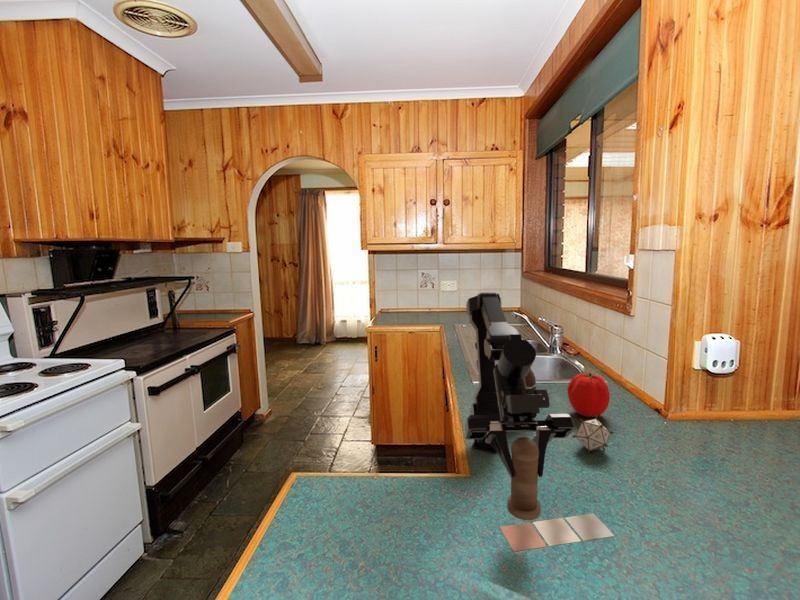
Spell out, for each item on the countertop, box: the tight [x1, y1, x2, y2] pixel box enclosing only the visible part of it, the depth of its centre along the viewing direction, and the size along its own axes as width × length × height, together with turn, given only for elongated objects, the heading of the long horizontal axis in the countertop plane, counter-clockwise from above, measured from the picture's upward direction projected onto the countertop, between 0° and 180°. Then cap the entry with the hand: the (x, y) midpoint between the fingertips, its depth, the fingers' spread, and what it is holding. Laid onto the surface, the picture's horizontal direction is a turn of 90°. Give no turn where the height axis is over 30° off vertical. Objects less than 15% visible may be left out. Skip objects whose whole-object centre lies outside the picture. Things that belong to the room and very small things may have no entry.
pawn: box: [506, 436, 542, 521], centre depth 70 cm, size 6×6×13 cm
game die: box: [571, 416, 615, 455], centre depth 101 cm, size 9×8×10 cm
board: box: [499, 513, 615, 553], centre depth 72 cm, size 21×10×1 cm, turn 99°
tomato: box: [566, 372, 611, 418], centre depth 120 cm, size 12×12×13 cm
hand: (526, 476), depth 68 cm, fingers closed on pawn, 4 cm apart
